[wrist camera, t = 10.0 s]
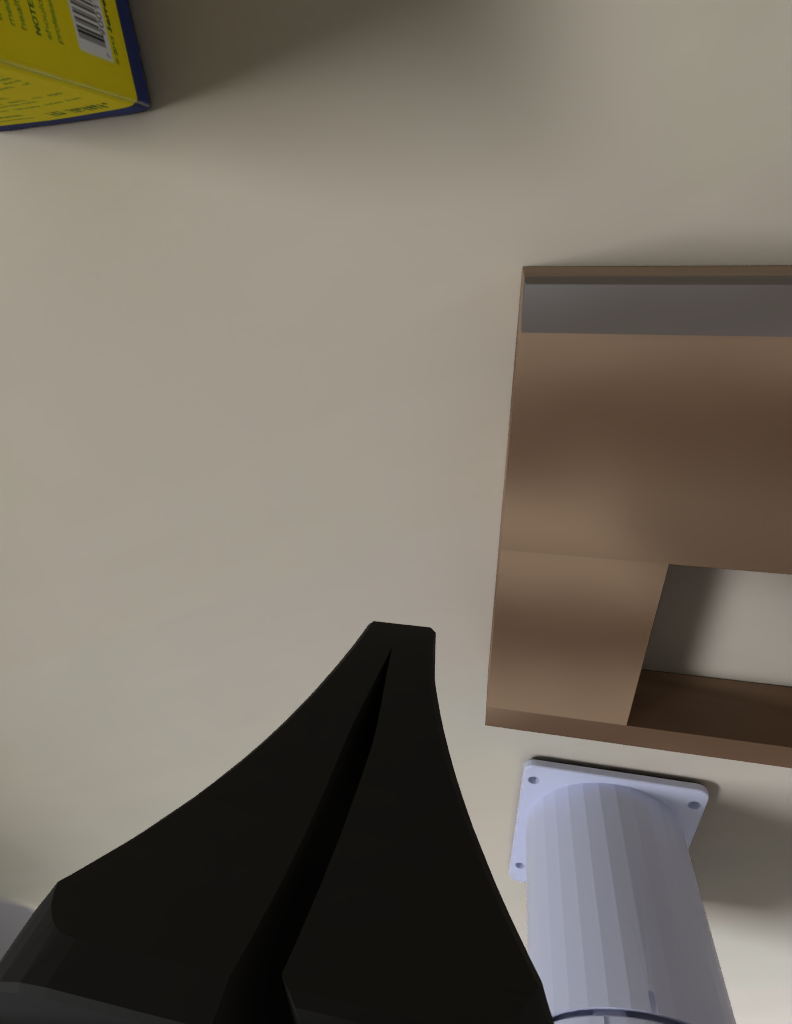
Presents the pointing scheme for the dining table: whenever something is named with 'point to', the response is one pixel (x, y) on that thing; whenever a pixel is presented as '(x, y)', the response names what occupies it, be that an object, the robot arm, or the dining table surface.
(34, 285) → the dining table surface
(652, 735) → the deck
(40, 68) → the supplement box
